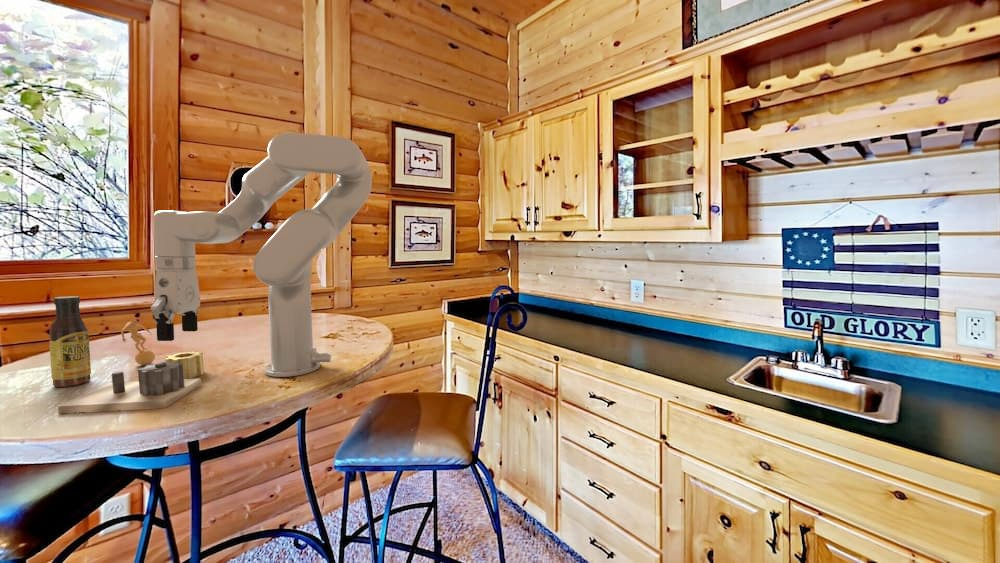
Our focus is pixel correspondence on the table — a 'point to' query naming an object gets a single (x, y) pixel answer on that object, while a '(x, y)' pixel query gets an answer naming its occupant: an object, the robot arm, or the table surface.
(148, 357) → the figurine
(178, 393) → the gear board
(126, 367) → the table surface
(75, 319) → the sauce bottle
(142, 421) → the table surface
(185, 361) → the cream toothed wheel
